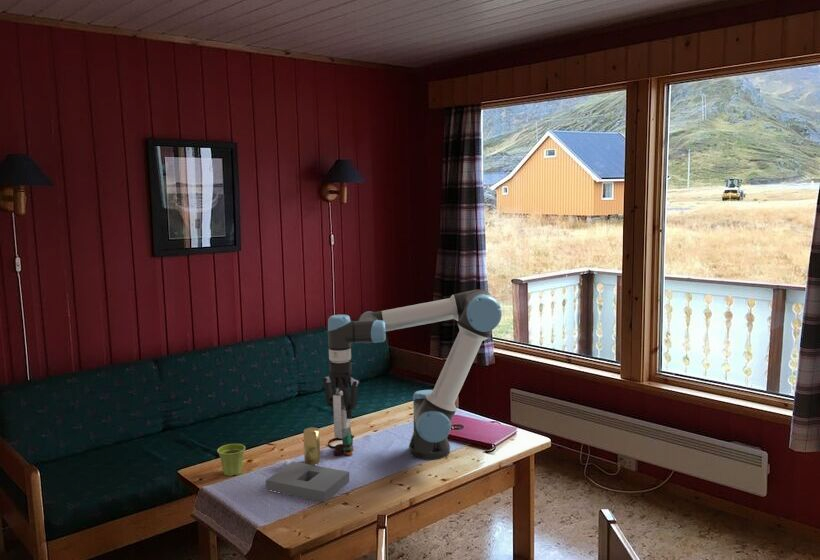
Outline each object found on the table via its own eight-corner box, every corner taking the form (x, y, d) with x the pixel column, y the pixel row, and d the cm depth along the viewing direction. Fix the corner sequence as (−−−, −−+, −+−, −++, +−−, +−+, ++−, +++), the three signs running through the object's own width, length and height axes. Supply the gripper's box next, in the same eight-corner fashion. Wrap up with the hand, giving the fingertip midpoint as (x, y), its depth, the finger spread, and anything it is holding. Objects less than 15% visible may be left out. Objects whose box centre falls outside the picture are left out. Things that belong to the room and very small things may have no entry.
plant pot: (212, 476, 233) (211, 452, 232) (229, 465, 242) (227, 442, 240) (236, 480, 230) (234, 455, 228) (251, 469, 238) (250, 445, 237)
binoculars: (327, 423, 256) (353, 420, 255) (330, 449, 257) (357, 447, 257) (323, 431, 247) (351, 428, 246) (327, 459, 248) (354, 456, 248)
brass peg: (322, 460, 245) (322, 428, 243) (314, 466, 240) (314, 434, 238) (309, 458, 247) (308, 426, 245) (301, 464, 242) (300, 431, 240)
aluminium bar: (350, 432, 238) (349, 391, 236) (342, 438, 232) (340, 396, 230) (343, 431, 239) (341, 390, 237) (334, 437, 233) (333, 395, 231)
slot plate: (349, 481, 227) (349, 471, 227) (324, 502, 213) (324, 491, 212) (293, 471, 236) (293, 461, 236) (266, 490, 222) (265, 480, 221)
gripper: (314, 361, 232) (316, 427, 235) (355, 365, 225) (357, 433, 229) (325, 355, 238) (327, 420, 242) (366, 359, 232) (368, 425, 235)
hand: (342, 426), depth 235 cm, fingers closed on aluminium bar, 3 cm apart
